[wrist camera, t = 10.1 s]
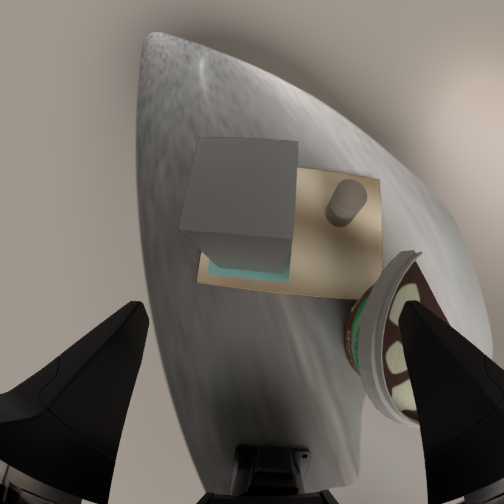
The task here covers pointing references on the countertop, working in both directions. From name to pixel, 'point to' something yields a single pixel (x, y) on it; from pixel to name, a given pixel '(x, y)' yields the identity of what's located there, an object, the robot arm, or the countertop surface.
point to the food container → (387, 337)
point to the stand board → (321, 241)
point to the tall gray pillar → (242, 202)
